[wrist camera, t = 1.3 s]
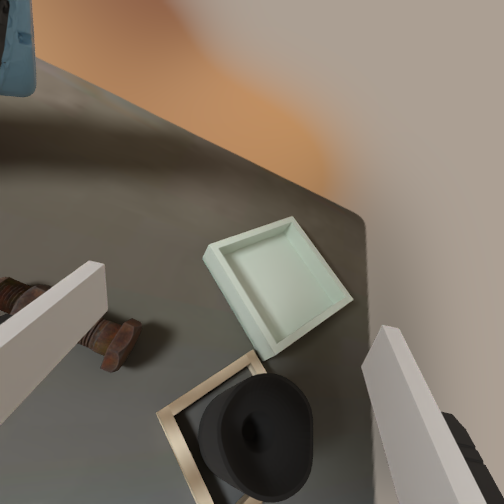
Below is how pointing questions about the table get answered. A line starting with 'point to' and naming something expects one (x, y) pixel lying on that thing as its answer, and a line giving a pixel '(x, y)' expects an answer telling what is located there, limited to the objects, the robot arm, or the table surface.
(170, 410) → the square wooden frame
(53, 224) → the table surface
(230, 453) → the pen holder
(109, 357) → the bolt
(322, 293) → the bin
